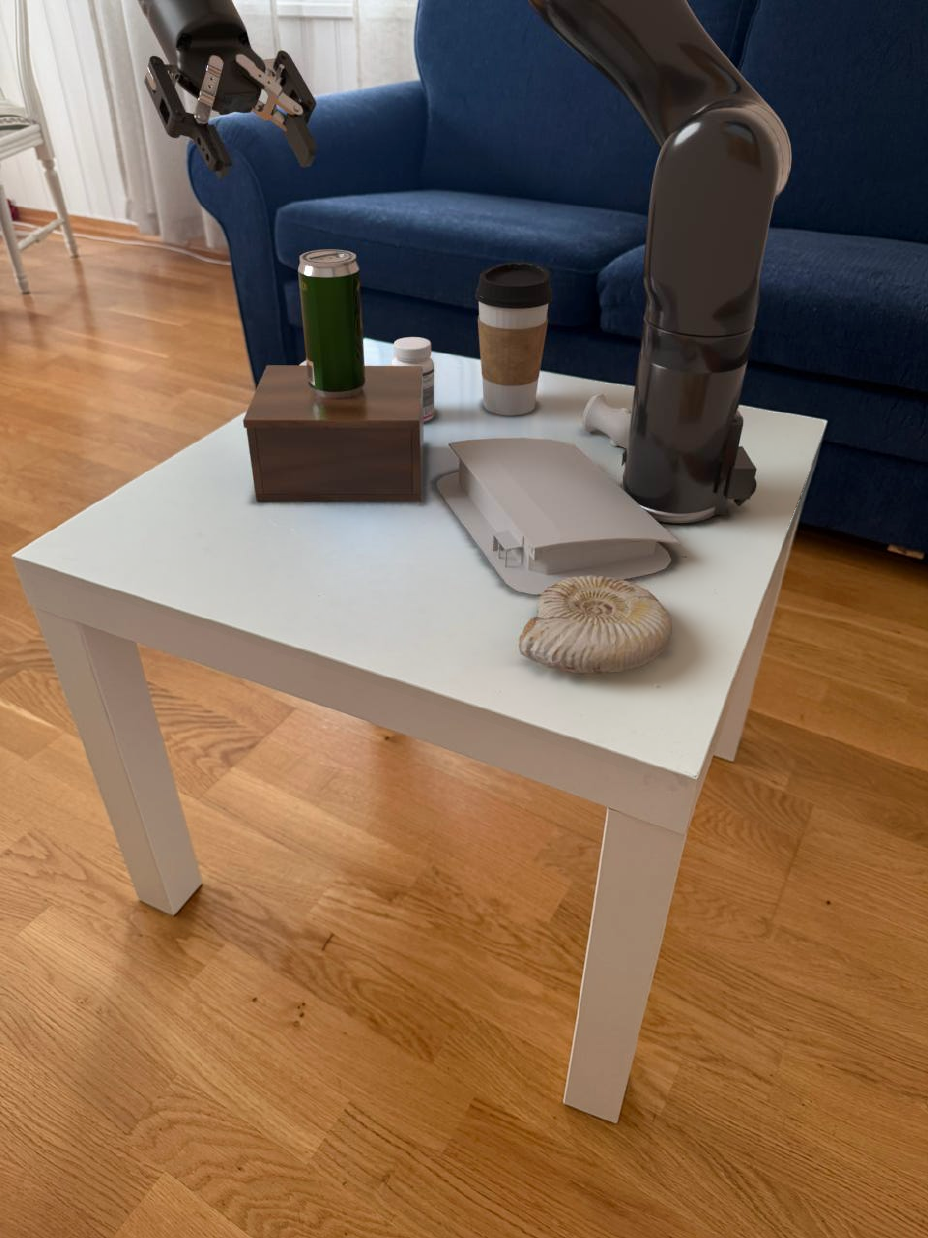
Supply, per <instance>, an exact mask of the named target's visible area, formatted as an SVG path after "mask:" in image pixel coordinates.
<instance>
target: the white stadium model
mask: <svg viewBox="0 0 928 1238" xmlns="http://www.w3.org/2000/svg"><path fill="white" fill-rule="evenodd" d="M448 447H449V448H450V449H451V451H453V453H454V454H455V455H456V456H457V458H458V461H459V462H458V463H459V464H458V465H459V466H458V467H459V468H458V470H459V471H455V472H452V473H449V474H444V475H443V476H441V478H439V479H438V480H437V481H436V489H437V491H438V492H439V494H440V495H441V496H442V498H443V499H444V500H445V502H446V503H447V505H448V506H449V507H450V509H451V510H452V512H453V513H454V514H455V516H456V517H457V519H458V520H459V521H460V523H461V524H462V525H463V527H464V528H465V529H466V531H467V532H468V534H469V535H470V536H471V537H472V539H473V540H474V542H475V543H476V544H477V546H478V548H479V549H480V550H481V552H482V553H483V554H484V556H485V557H486V558H487V560H488V561H489V563H490V564H491V565H492V567H493V568H494V569H495V571H496V572H497V573H498V575H499V576H500V578H501V579H502V581H503V582H504V583H505V584H506V585H507V586H508V587H510V588H511V589H513V590H514V591H515V592H518V593H522V594H526V595H532V596H541V594H542V593H543V592H544V591H545V590H547V588H548V587H551V586H552V585H554V584H556V583H558V582H560V581H562V580H564V579H566V578H569V577H570V578H572V577H576V576H577V577H580V576H605V577H610V578H615V579H620V580H624V581H625V580H629V579H635V578H638V577H644V576H648V575H649V576H650V575H653V574H655V573H658V572H660V571H662V570H665V569H667V567H668V566H669V565H670V563H671V562H672V558H671V556H670V553H669V551H668V550H667V549H666V548H665V547H664V546H663V545H662V544H661V543H667V544H672V545H680V543H681V542H680V541H679V540H678V539H676V538H675V536H674V535H672V533H670V532H669V531H668V530H667V529H666V528H665V526H663V525H662V524H660V522H659V521H656V520H655V519H654V518H653V517H652V516H651V515H650V514H649V513H647V512H646V511H645V510H644V509H643V508H642V507H641V506H640V505H639V504H638V503H637V502H636V501H635V500H633V499H632V498H631V497H630V496H629V495H628V494H627V493H626V492H625V491H624V490H623V489H622V488H621V486H620V485H618V483H616V481H614V480H613V479H612V478H611V477H610V476H609V475H608V474H607V473H606V472H605V471H604V470H602V469H601V468H600V467H599V466H598V465H597V464H596V463H595V462H594V461H593V460H592V459H591V458H590V457H588V456H587V454H585V453H584V452H583V450H581V449H580V448H579V447H578V446H577V445H576V444H574V443H568V442H563V441H558V440H553V439H546V438H534V437H533V438H531V437H500V438H499V437H495V438H481V439H480V438H479V439H468V440H460V441H452V442H448ZM660 542H661V543H660Z"/></svg>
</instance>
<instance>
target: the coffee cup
mask: <svg viewBox="0 0 928 1238" xmlns="http://www.w3.org/2000/svg"><path fill="white" fill-rule="evenodd" d="M474 298H475V300H477V301H478V313H479V314H478V316H477V327H478V340H479V341H478V343H479V354H480V355H479V356H480V367H481V378H482V397H483V407H484V408H485V410H487V411H488V412H490V413H492V414H496V415H499V416H511V417H512V416H521V415H526V414H528V413H530V412H532V411H533V410H534V409H535V407H536V406H535V405H536V400H537V392H538V391H537V390H538V385H539V378H540V372H541V367H542V361H543V355H544V348H545V342H546V337H547V329H548V324H549V323H548V322H549V318H548V309H549V304H550V303H552V301H553V299H554V297H553V289H552V288H551V273H550V270H549V269H548V268H546V267H545V266H542V265H539V264H536V263H530V262H505V263H500V264H497V265H494V266H491V267H489V268H486V269H485V270H483V271H482V272H481V273H480V275H479V279H478V284H477V286H476V288H475V295H474Z"/></svg>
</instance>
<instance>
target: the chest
mask: <svg viewBox="0 0 928 1238" xmlns="http://www.w3.org/2000/svg"><path fill="white" fill-rule="evenodd" d="M424 427H425V426H424V422H423V376H422V395H421V415H420V428H419V429H405V428H245V429H246V437H247V442H248V450H249V458H250V465H251V473H252V480H253V481H252V482H253V488H254V494H255V501H256V502H258V503H261V502H262V503H265V502H268V503H269V502H270V503H271V502H277V503H280V502H281V503H284V502H286V503H287V502H289V503H291V502H293V503H295V502H297V503H299V502H301V503H302V502H306V503H309V502H310V503H312V502H315V503H317V502H319V503H321V502H322V503H323V502H325V503H327V502H328V503H329V502H330V503H331V502H332V503H337V502H338V503H339V502H340V503H341V502H342V503H343V502H344V503H346V502H347V503H349V502H350V503H361V502H362V503H369V502H370V503H421V502H422V497H423V472H424V451H425V449H424V448H425V439H424V437H425V435H424V433H425V432H424V431H425V430H424V429H425V428H424Z"/></svg>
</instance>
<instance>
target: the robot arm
mask: <svg viewBox="0 0 928 1238" xmlns="http://www.w3.org/2000/svg"><path fill="white" fill-rule="evenodd" d="M525 1H526V2H527V3H528V5H529V6H530V7H531V9H533V11H534V12H535V14H536V15H537V16H538V17H539V18H540V19H541V20H542V21H543V23H544V24H545V25H546V26H547V27H548V28H549V29H550V30H551V31H552V32H553V33H554V34H555V35H556V36H557V38H559V39H560V40H561V41H563V42H564V44H566V45H567V47H569V48H570V49H571V50H572V51H574V52H575V53H576V54H577V55H578V56H579V57H580V58H581V59H583V60H584V61H585V62H587V63H588V64H589V65H590V66H591V67H593V68H594V69H595V71H597V72H598V73H599V74H601V75H602V76H603V77H604V78H605V79H607V80H608V81H609V82H610V83H611V84H612V85H613V86H614V87H615V88H616V89H617V90H618V91H619V92H620V93H621V94H622V95H623V96H624V98H625V99H626V100H627V101H628V102H629V103H630V105H631V107H633V109H634V110H635V112H636V113H637V114H638V116H639V117H640V119H641V120H642V122H643V124H644V125H645V126H646V128H647V130H648V131H649V133H650V135H651V136H652V138H653V140H654V141H655V143H656V144H657V146H658V148H659V150H660V152H659V154H658V156H657V160H656V164H655V167H654V171H653V176H652V182H651V188H650V195H649V205H648V214H647V225H646V234H645V246H644V256H643V269H642V283H643V290H644V294H645V296H644V297H645V303H644V304H645V305H644V311H643V319H642V320H643V321H642V327H641V335H640V336H641V337H640V344H639V353H638V360H637V366H636V368H637V369H636V374H635V375H636V376H635V384H634V391H633V399H632V406H631V411H632V413H631V421H630V429H629V437H628V444H627V448H625V450H624V451H623V452H622V458H621V465H620V466H621V467H623V466H624V469H623V472H622V473H623V474H622V481H621V485H620V487H621V488H622V489H623V490H624V491H625V492H626V493H627V494H628V495H629V496H630V497H631V498H632V499H633V500H635V501H636V502H637V503H638V504H639V505H640V506H641V507H642V508H643V509H644V510H645V511H646V512H647V513H649V514H650V515H651V516H652V517H653V518H654V519H655V520H656V521H657V522H662V523H669V524H691V523H698V522H702V521H705V520H707V519H710V518H712V517H713V516H725V515H726V510H727V505H728V501H731V500H732V501H733V502H734V503H735V505H737V506H738V507H740V506H741V505H743V503H745V502H747V501H748V500H751V497H752V496H753V495H754V494H755V492H756V491H757V486H758V485H757V484H758V483H757V479H756V473H757V467H756V466H755V464H754V462H753V460H752V459H751V458H750V456H749V455H748V453H747V451H746V450H745V448H744V446H743V445H740V443H741V437H742V432H743V427H744V417H743V415H742V414H741V413H740V411H739V407H740V403H741V396H742V392H743V387H744V381H745V376H746V373H747V372H746V371H747V366H748V362H749V357H750V351H751V347H752V343H753V337H754V332H755V326H756V321H757V318H758V317H757V316H758V311H759V307H760V301H761V292H760V281H761V272H762V266H763V260H764V255H765V249H766V244H767V240H768V233H769V227H770V223H771V218H772V214H773V208H774V204H775V203H776V202H777V200H778V199H779V198H780V196H781V195H782V193H783V191H784V190H785V187H786V186H787V183H788V180H789V177H790V173H791V169H792V157H793V156H792V155H793V154H792V145H791V141H790V138H789V134H788V132H787V129H786V127H785V125H784V123H783V121H782V119H781V118H780V117H779V115H778V114H777V113H776V112H775V110H774V109H772V107H771V106H770V105H769V103H767V101H765V100H764V98H763V97H762V96H761V95H760V94H759V93H758V92H757V91H756V90H755V89H754V88H753V86H752V85H751V83H749V82H748V81H747V79H746V78H745V77H744V76H743V75H742V74H741V73H740V71H739V70H738V69H737V68H736V67H735V65H734V64H733V62H731V60H730V59H729V58H728V57H727V56H726V55H725V53H724V52H723V51H722V50H721V49H720V47H718V45H717V44H716V43H715V41H714V40H713V39H712V37H710V35H709V34H708V32H707V31H706V29H705V28H704V27H703V25H702V24H701V23H700V20H698V18H697V16H696V15H695V13H694V11H693V9H692V8H691V6H690V5H689V2H688V1H687V0H525ZM137 3H138V4H139V7H140V9H141V11H142V13H143V15H144V17H145V19H146V21H147V23H148V24H149V26H150V28H151V31H152V33H153V34H154V36H155V39H156V40H157V42H158V44H159V46H160V48H161V50H162V52H163V55H165V58H166V60H167V61H168V63H167V64H166V63H165V62H164V61H163V58H160V56H157V55H151V56H150V57H149V59H148V63H147V68H146V72H145V76H144V81H143V82H144V85H145V87H146V89H147V92H148V94H149V96H150V99H151V101H152V103H153V105H154V108H155V110H156V112H157V114H158V116H159V117H158V118H159V119H160V122H161V123H162V125H163V127H164V130H165V132H166V134H167V135H168V136H169V137H170V138H172V139H178V138H180V137H181V136H182V137H186V138H188V139H189V140H190V141H191V142H193V143H195V145H196V147H197V149H198V151H199V154H200V156H201V157H202V159H203V161H204V162H205V165H206V166H207V168H208V169H209V170H210V171H211V172H212V173H215V175H216V176H217V177H218V178H219V179H223V178H228V177H229V174H230V171H231V169H232V166H233V161H232V157H231V155H230V153H229V152H228V149H227V147H226V145H225V144H224V142H223V139H222V138H221V136H220V134H219V132H218V130H217V128H216V126H215V124H214V123H212V124H209V121H210V117H211V113H212V111H213V112H216V113H218V114H219V116H228V115H231V114H233V113H239V114H251V113H253V114H254V115H256V116H257V117H259V118H260V119H261V120H262V121H264V122H268V121H271V122H272V123H273V124H275V125H276V126H277V127H279V128H280V129H281V130H283V131H284V136H285V138H286V140H287V142H288V144H289V146H290V148H291V150H292V152H293V154H294V156H295V158H296V160H297V161H298V163H299V165H300V167H301V168H310V167H312V164H313V162H314V159H315V158H316V155H317V151H318V145H317V142H316V140H315V139H314V137H313V135H312V133H311V131H310V129H309V127H308V124H309V122H310V118H311V117H312V114H313V112H314V111H315V109H316V106H317V101H316V98H315V97H314V95H313V94H312V91H311V90H310V89H309V87H308V85H307V83H306V81H305V80H304V78H303V76H302V74H301V73H300V71H299V69H298V68H297V66H296V64H295V62H294V61H293V59H292V56H291V55H290V54H289V53H288V52H287V51H286V50H283V49H280V50H279V51H278V52H277V54H276V57H274V58H266V59H263V58H262V57H261V56H260V55H259V54H258V53H256V51H255V50H254V49H253V48H252V45H251V42H250V37H249V35H248V31H247V27H246V25H245V23H244V22H243V19H242V17H241V15H240V13H239V12H238V9H237V8H236V6H235V3H234V2H233V0H137ZM176 84H177V85H178V86H179V87H180V88H181V89H183V90H184V91H186V92H187V93H188V94H189V95H190V96H192V97H194V99H196V104H195V107H194V111H193V113H192V112H188V111H186V109H185V107H184V105H183V102H182V100H181V98H180V96H179V94H178V91H177V89H176ZM262 91H264V92H265V93H266V95H267V98H266V99H267V100H266V101H265V103H264V102H262V101H261V100H260V98H261V95H262ZM277 106H278V107H279V108H281V109H282V110H283V111H285V112H286V113H284V112H283V111H281V110H279V109H278V107H277Z"/></svg>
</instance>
